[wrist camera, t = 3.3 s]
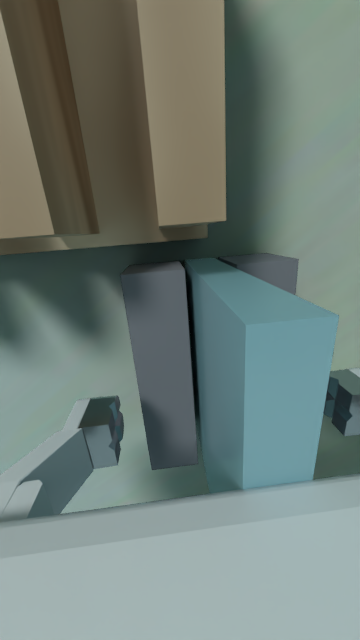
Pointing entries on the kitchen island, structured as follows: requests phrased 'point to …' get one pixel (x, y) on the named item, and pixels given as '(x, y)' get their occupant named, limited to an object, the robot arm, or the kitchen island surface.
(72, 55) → the rack
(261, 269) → the stand
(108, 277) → the kitchen island surface
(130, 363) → the kitchen island surface
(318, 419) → the tall light blue block
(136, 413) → the kitchen island surface
